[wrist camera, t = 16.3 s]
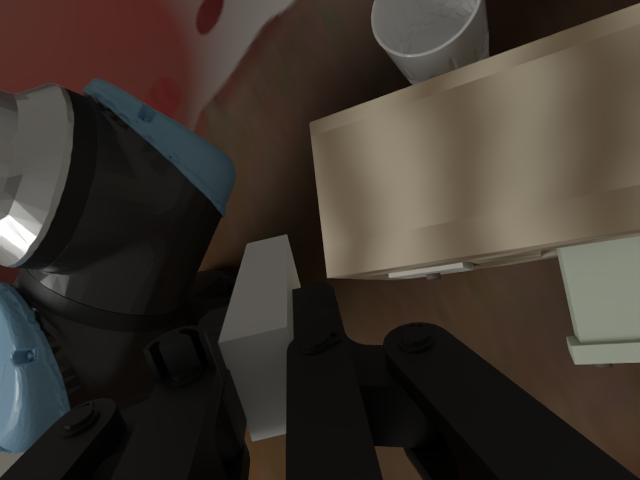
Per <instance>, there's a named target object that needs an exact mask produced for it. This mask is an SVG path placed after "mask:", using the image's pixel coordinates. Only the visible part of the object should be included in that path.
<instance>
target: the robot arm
mask: <svg viewBox="0 0 640 480" xmlns="http://www.w3.org/2000/svg"><path fill="white" fill-rule="evenodd" d="M83 94H84V96H83V95H80V94H78V93H76V92H73V91H71V90H68V89H66V88H64V87H62V86H59V85H56V84H54V83H53V84H52V83H49V84H45V85H42V86H39V87H36V88H33V89H30V90H27V91H24V92H21V93H18V94H14V93H8V92H5V91H2V90H0V264H1V265H3V266H7V267H15V268H20V271H19V274H18V277H17V279H16V281H15V283H14V284H13V285H9V284H5V283H0V451H1V452H5V453H22V452H25V453H24V454H23V455H22V456H21V457H20V458H19V459H18V460H17V461H16V462H15V463H14V464H13V465H12V466H11V467H10V468H9V469H8V470H7V471H6V472H5V473H4V474H3V475H2V476H1V478H0V480H248V477H249V467H250V456H249V451H248V448H247V445H246V443H245V440H244V439H245V431H246V424H247V427H248V430H249V433H250V436H251V438H252V441H257V440H261V439H265V438H269V437H274V436H278V435H282V434H286V480H383V478H382V474H381V471H380V467H379V463H378V459H377V455H376V451H375V447H374V446H387V447H403V448H404V451H405V453H406V456H407V457H408V459H409V460H410V462H411V463H412V465H413V466H414V467H415V469H416V470H417V472H418V473H419V475H420V476H421V478H422V479H423V480H640V479H639V478H638V477H636V476H635V475H634V474H632V473H631V472H630V471H629V470H627V469H626V468H625V467H623V466H622V465H621V464H619V463H618V462H617V461H616V460H614V459H613V458H612V457H610V456H609V455H608V454H606V453H605V452H604V451H603V450H601V449H600V448H599V447H597V446H596V445H595V444H593V443H592V442H591V441H590V440H588V439H587V438H586V437H584V436H583V435H582V434H580V433H579V432H578V431H576V430H575V429H574V428H573V427H571V426H570V425H569V424H567V423H566V422H565V421H563V420H562V419H561V418H560V417H558V416H557V415H556V414H554V413H553V412H552V411H550V410H549V409H548V408H547V407H545V406H544V405H543V404H541V403H540V402H539V401H537V400H536V399H535V398H534V397H532V396H531V395H530V394H528V393H527V392H526V391H524V390H523V389H522V388H521V387H519V386H518V385H517V384H515V383H514V382H513V381H511V380H510V379H509V378H508V377H506V376H505V375H504V374H502V373H501V372H500V371H498V370H497V369H496V368H495V367H493V366H492V365H491V364H489V363H488V362H487V361H485V360H484V359H483V358H481V357H480V356H479V355H478V354H476V353H475V352H474V351H472V350H471V349H470V348H468V347H467V346H466V345H465V344H463V343H462V342H461V341H459V340H458V339H457V338H455V337H454V336H453V335H452V334H450V333H449V332H448V331H446V330H445V329H443V328H441V327H439V326H437V325H435V324H429V323H424V322H423V323H421V322H417V323H409V324H406V325H402V326H399V327H397V328H395V329H393V330H392V331H390V332H389V333H388V334H387V336H386V337H385V338H384V342H383V345H364V344H359V343H356V342H354V341H352V340H351V339H349V338H348V337H347V335H346V333H345V331H344V327H343V323H342V320H341V316H340V312H339V308H338V304H337V300H336V296H335V292H334V288H333V287H332V286H330V285H329V284H327V283H326V282H322V283H318V284H313V285H309V286H305V287H301V286H300V282H299V279H298V275H297V271H296V267H295V263H294V259H293V256H292V252H291V248H290V244H289V240H288V236H287V234H286V235H282V236H277V237H273V238H269V239H265V240H260V241H256V242H252V243H247V245H246V249H245V252H244V256H243V259H242V262H241V266H240V269H239V273H238V274H236V273H233V272H229V271H219V270H206V271H200V272H198V269H199V267H200V265H201V262H202V260H203V258H204V256H205V253H206V251H207V249H208V246H209V244H210V242H211V240H212V237H213V235H214V233H215V230H216V228H217V226H218V224H219V221H220V219H221V217H222V218H223V217H224V216H225V212H226V209H225V207H226V204H227V201H228V199H229V196H230V193H231V191H232V188H233V186H234V183H235V180H236V171H235V167H234V164H233V162H232V161H231V159H230V158H229V157H228V156H227V155H226V154H225V153H224V152H222V151H221V150H220V149H218V148H217V147H215V146H214V145H212V144H211V143H209V142H208V141H206V140H205V139H203V138H202V137H200V136H198V135H197V134H195V133H194V132H192V131H190V130H189V129H187V128H185V127H184V126H182V125H181V124H179V123H177V122H176V121H174V120H172V119H171V118H169V117H167V116H166V115H164V114H162V113H160V112H158V111H155V110H154V109H153V108H152V107H150V106H148V105H146V104H145V103H143V102H141V101H140V100H138V99H137V98H135V97H133V96H132V95H130V94H128V93H127V92H125V91H123V90H121V89H119V88H118V87H116V86H114V85H112V84H110V83H108V82H106V81H104V80H102V79H93V80H92V81H91V82H90V84H89V85H87V86H85V87H84V90H83Z"/></svg>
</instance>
